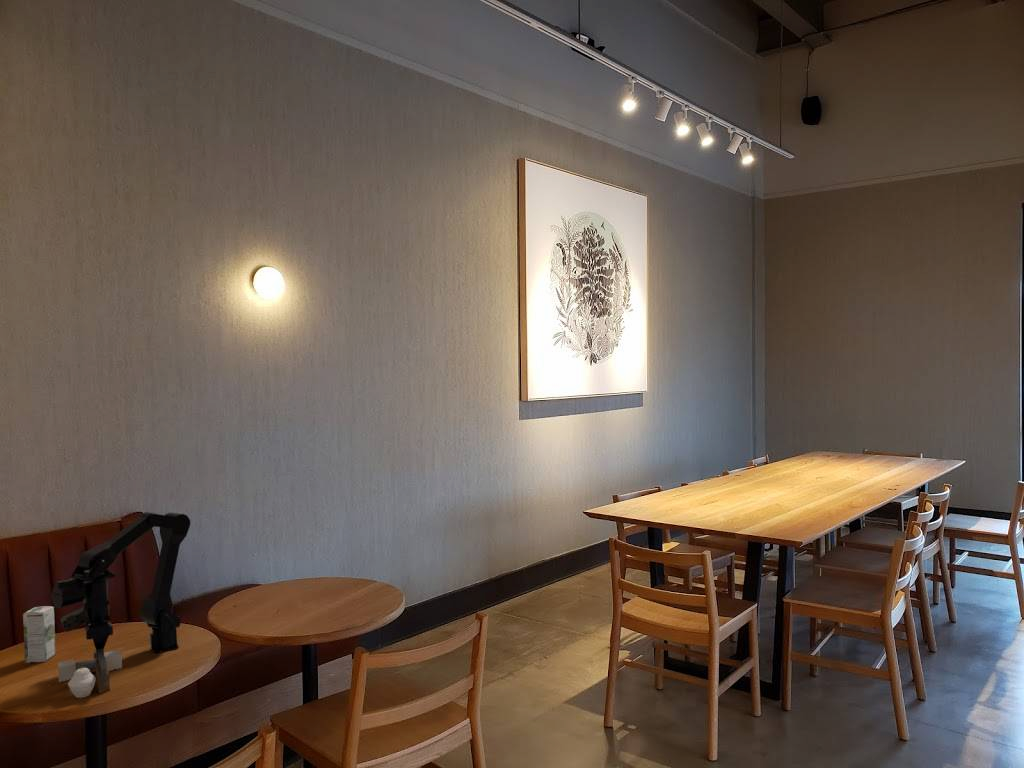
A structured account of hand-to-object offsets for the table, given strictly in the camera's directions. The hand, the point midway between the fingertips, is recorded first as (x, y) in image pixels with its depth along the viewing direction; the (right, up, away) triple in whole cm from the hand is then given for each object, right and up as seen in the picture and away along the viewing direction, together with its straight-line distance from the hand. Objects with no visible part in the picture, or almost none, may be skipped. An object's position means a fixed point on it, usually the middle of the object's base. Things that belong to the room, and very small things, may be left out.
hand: (99, 654), depth 205 cm
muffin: (+4, -5, -15) cm, 16 cm away
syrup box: (-23, -6, +12) cm, 27 cm away
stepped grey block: (+5, 0, -8) cm, 9 cm away
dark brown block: (+3, -5, -4) cm, 7 cm away
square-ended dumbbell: (-2, -5, 0) cm, 6 cm away
